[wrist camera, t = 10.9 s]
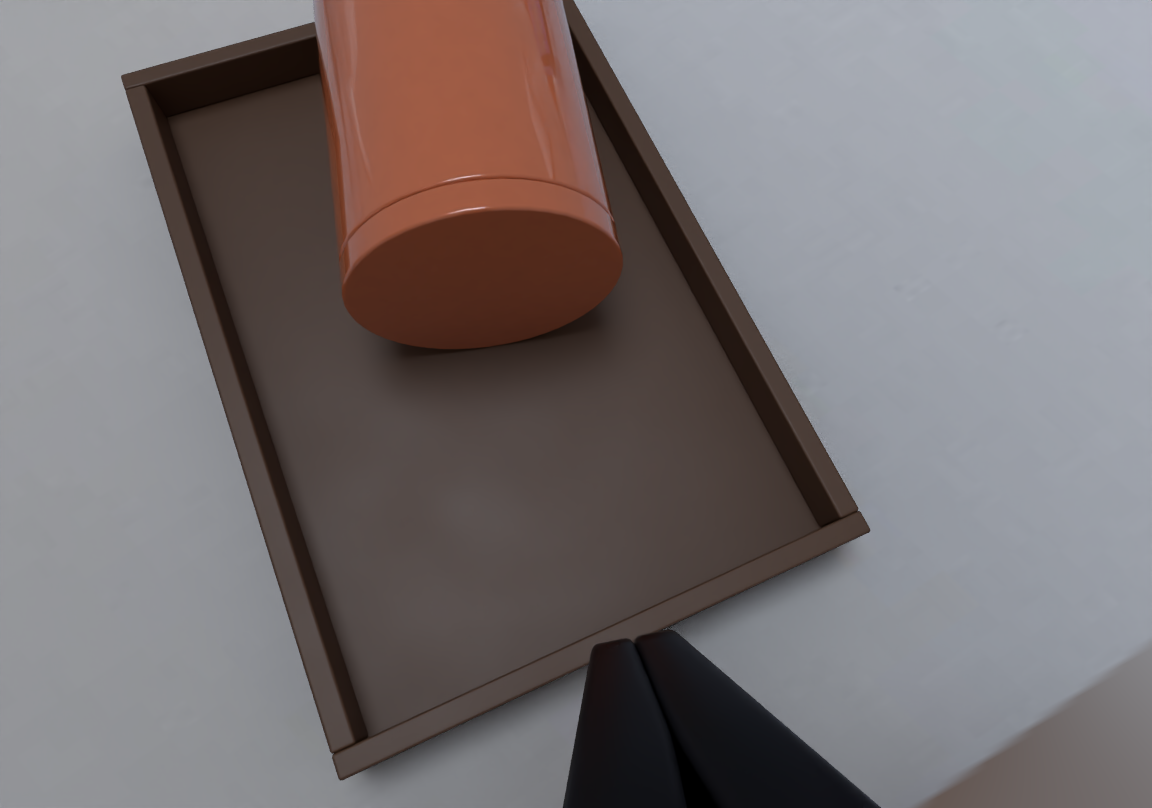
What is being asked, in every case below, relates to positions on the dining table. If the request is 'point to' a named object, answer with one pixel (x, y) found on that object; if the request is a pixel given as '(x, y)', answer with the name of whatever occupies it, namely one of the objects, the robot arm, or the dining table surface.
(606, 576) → the walnut tray
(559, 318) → the orange canister
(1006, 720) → the dining table surface
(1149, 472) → the dining table surface
